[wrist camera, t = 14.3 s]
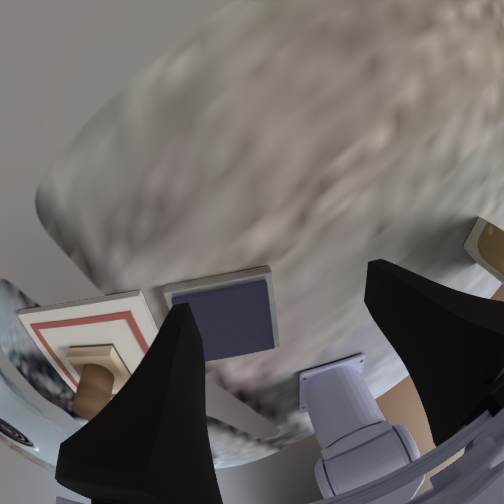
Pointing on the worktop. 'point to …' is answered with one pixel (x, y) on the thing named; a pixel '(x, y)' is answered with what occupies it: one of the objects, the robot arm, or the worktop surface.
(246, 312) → the ink pad
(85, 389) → the stamp
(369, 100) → the worktop surface
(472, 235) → the skincare box
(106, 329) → the marked board
